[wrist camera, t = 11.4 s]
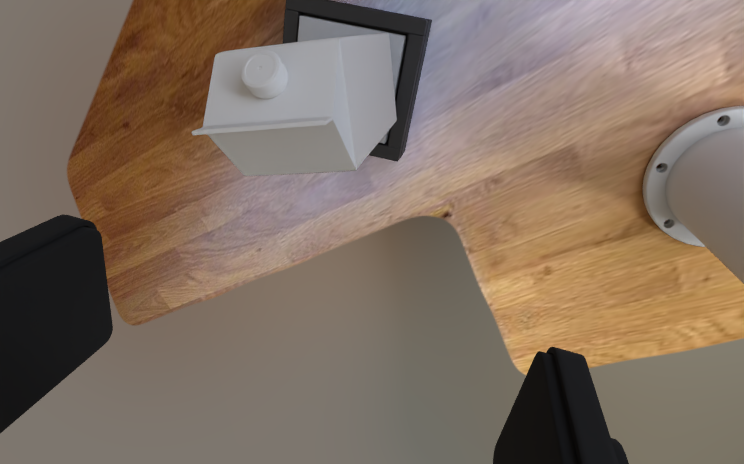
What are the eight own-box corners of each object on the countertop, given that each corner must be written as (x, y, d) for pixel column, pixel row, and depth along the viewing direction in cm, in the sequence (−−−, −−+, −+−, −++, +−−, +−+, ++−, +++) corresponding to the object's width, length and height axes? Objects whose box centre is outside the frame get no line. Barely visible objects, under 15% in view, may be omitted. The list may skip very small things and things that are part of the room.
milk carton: (397, 120, 39) (337, 195, 22) (320, 126, 40) (209, 199, 24) (389, 32, 36) (313, 39, 19) (307, 42, 38) (170, 56, 21)
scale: (432, 20, 39) (427, 19, 35) (404, 151, 44) (398, 162, 41) (302, -5, 40) (285, -8, 37) (291, 125, 46) (275, 134, 42)
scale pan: (407, 35, 37) (404, 36, 36) (387, 140, 41) (384, 144, 40) (305, 15, 38) (299, 15, 37) (296, 119, 42) (290, 122, 41)
